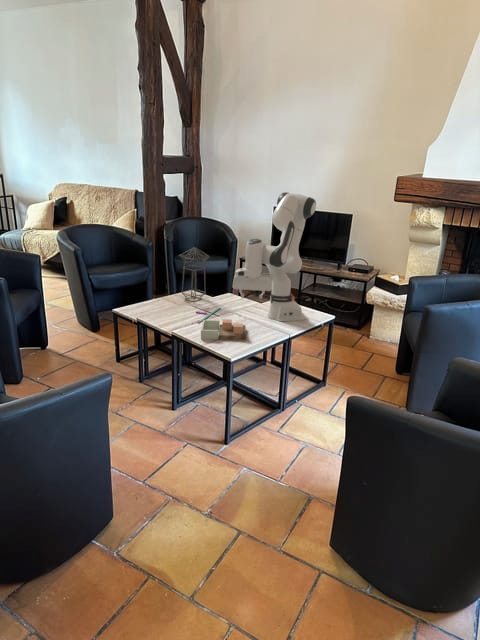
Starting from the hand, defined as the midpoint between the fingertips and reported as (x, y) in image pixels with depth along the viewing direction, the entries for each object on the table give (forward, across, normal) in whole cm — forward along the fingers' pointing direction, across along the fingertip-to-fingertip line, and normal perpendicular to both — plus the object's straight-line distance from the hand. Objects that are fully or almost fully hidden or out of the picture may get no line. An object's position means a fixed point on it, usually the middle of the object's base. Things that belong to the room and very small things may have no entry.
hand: (251, 298), depth 228 cm
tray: (+22, +21, -1) cm, 30 cm away
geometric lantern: (+21, +38, -61) cm, 75 cm away
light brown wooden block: (+19, +12, -4) cm, 23 cm away
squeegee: (+22, +29, -32) cm, 48 cm away
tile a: (+19, +6, +1) cm, 20 cm away
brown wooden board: (+21, +9, -2) cm, 23 cm away
